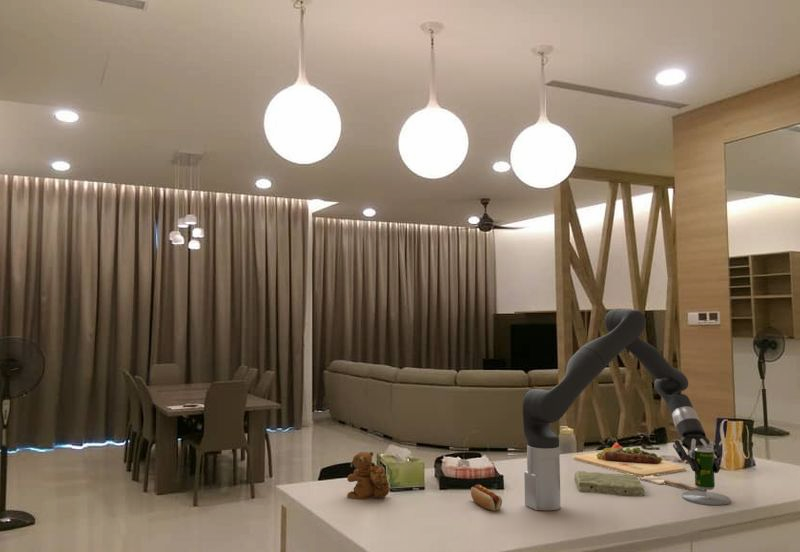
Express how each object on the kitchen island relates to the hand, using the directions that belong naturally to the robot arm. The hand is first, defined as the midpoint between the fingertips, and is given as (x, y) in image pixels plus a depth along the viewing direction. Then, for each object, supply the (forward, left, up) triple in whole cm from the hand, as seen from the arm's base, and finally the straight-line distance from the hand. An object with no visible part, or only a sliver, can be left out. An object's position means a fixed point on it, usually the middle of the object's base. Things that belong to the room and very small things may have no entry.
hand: (707, 471), depth 189 cm
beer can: (+1, +2, -5) cm, 6 cm away
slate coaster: (+1, +2, -9) cm, 9 cm away
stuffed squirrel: (-93, +39, -9) cm, 101 cm away
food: (-64, +18, -9) cm, 68 cm away
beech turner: (+4, +18, -8) cm, 20 cm away
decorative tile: (-17, +24, -9) cm, 31 cm away
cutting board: (+11, +49, -9) cm, 51 cm away
